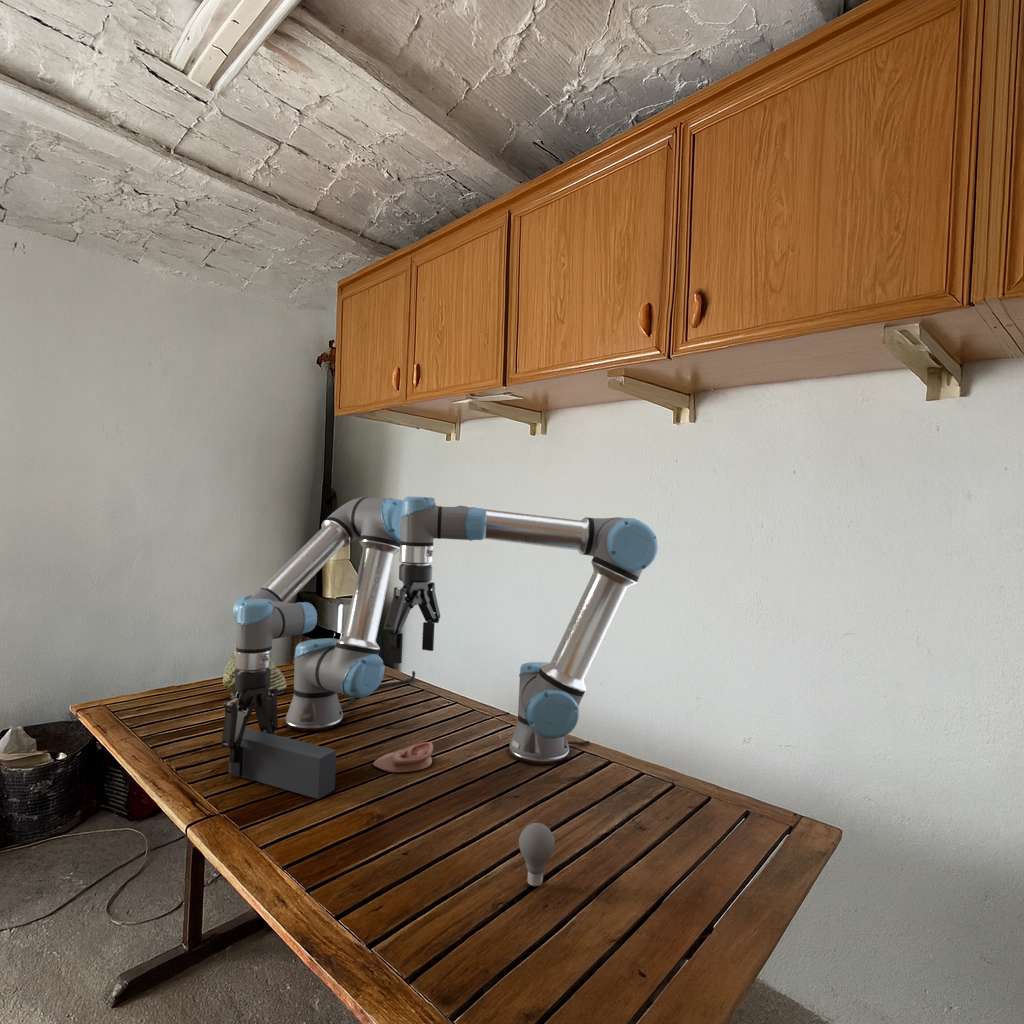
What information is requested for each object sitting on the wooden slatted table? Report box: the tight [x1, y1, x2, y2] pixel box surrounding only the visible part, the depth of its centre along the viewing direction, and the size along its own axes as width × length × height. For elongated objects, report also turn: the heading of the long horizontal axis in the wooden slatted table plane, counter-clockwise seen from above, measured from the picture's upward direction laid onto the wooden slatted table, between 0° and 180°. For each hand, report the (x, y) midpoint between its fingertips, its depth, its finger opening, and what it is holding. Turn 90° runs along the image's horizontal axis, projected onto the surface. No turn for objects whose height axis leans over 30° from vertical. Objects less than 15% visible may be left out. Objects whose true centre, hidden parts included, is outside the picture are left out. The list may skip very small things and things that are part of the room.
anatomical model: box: [372, 741, 434, 773], centre depth 152 cm, size 13×4×12 cm
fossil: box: [222, 649, 288, 699], centre depth 198 cm, size 9×18×15 cm, turn 132°
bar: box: [228, 727, 337, 800], centre depth 140 cm, size 26×5×9 cm, turn 66°
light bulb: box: [518, 822, 556, 887], centre depth 106 cm, size 6×6×10 cm
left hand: (249, 768), depth 144 cm, fingers open, 7 cm apart
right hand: (412, 656), depth 145 cm, fingers open, 13 cm apart
